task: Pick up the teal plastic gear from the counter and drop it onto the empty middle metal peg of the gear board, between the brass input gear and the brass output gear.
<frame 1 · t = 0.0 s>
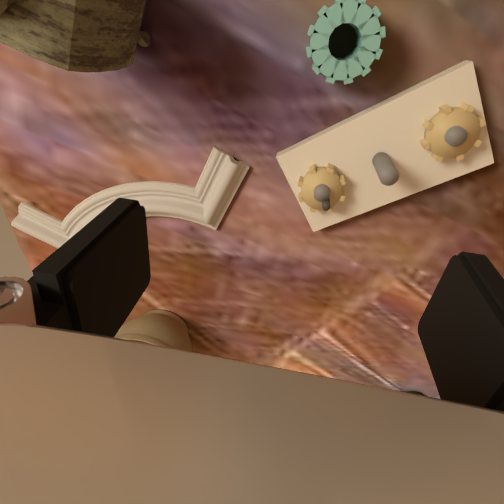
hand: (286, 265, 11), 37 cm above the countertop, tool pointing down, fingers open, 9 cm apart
molding: (124, 197, 55), on the countertop
gear board: (378, 155, 45), on the countertop
loose gear: (341, 41, 39), on the countertop
planter bowl: (165, 326, 68), on the countertop
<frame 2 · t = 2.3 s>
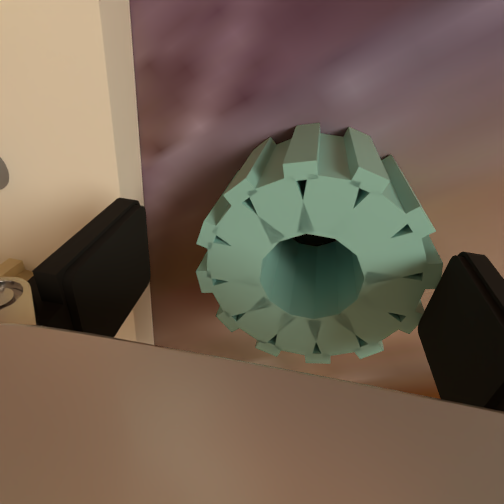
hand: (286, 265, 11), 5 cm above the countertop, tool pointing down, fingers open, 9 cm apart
gear board: (21, 154, 16), on the countertop
loose gear: (314, 213, 15), on the countertop, touching gripper
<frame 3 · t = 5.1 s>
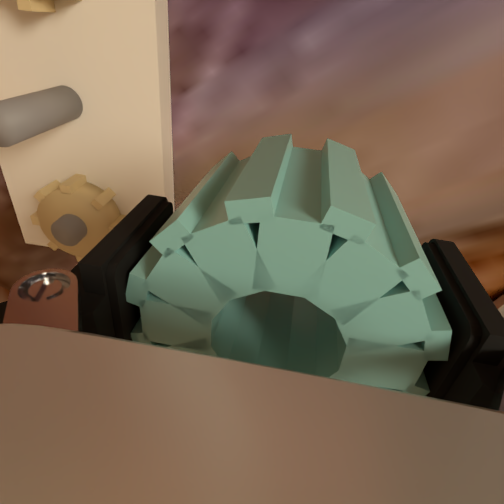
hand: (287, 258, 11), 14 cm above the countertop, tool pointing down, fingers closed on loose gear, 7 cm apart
gear board: (84, 97, 23), on the countertop
loose gear: (291, 242, 13), point 13 cm above the countertop, touching gripper
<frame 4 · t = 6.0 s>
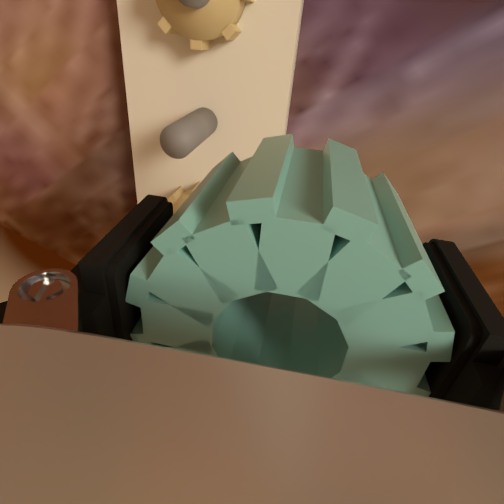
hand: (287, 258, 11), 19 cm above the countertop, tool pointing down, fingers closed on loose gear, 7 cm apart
gear board: (211, 116, 27), on the countertop
loose gear: (292, 243, 12), point 17 cm above the countertop, touching gripper
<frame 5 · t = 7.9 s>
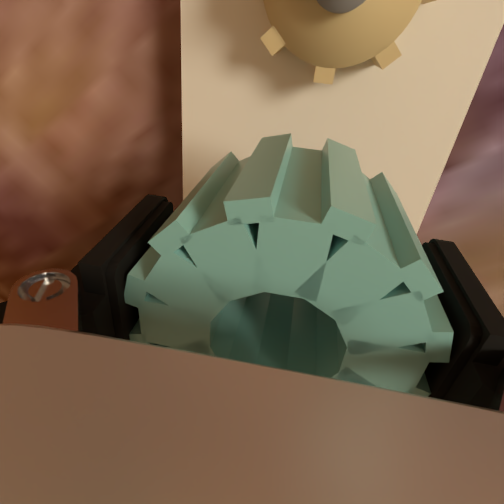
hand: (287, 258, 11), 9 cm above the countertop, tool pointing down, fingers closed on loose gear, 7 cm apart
gear board: (303, 171, 18), on the countertop
loose gear: (291, 243, 12), point 7 cm above the countertop, touching gripper
when the fingers open (5 cm above the countertop, at t = 9.2 s): loose gear drops 2 cm, resting on gear board.
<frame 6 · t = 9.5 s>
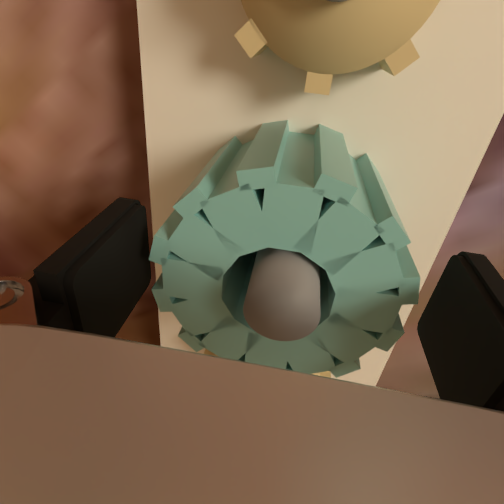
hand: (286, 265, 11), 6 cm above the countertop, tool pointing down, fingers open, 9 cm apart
gear board: (295, 193, 16), on the countertop
loose gear: (287, 218, 14), point 2 cm above the countertop, touching gear board
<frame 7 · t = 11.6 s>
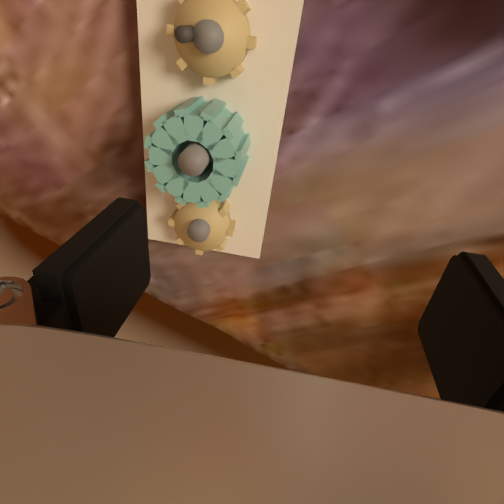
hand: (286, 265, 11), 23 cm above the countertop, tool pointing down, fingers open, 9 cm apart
gear board: (214, 134, 32), on the countertop
loose gear: (207, 143, 30), point 2 cm above the countertop, touching gear board
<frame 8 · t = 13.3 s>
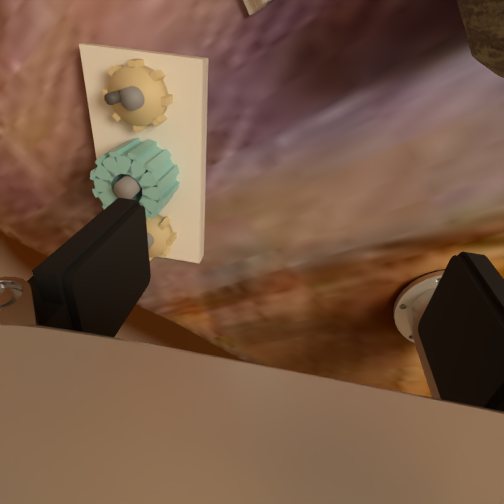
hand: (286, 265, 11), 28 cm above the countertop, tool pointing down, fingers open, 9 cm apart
gear board: (155, 164, 40), on the countertop
loose gear: (147, 172, 39), point 2 cm above the countertop, touching gear board
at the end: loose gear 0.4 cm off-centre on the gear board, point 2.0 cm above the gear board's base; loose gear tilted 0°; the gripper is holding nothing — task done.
